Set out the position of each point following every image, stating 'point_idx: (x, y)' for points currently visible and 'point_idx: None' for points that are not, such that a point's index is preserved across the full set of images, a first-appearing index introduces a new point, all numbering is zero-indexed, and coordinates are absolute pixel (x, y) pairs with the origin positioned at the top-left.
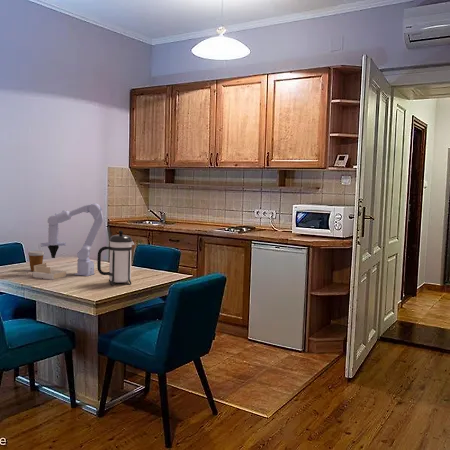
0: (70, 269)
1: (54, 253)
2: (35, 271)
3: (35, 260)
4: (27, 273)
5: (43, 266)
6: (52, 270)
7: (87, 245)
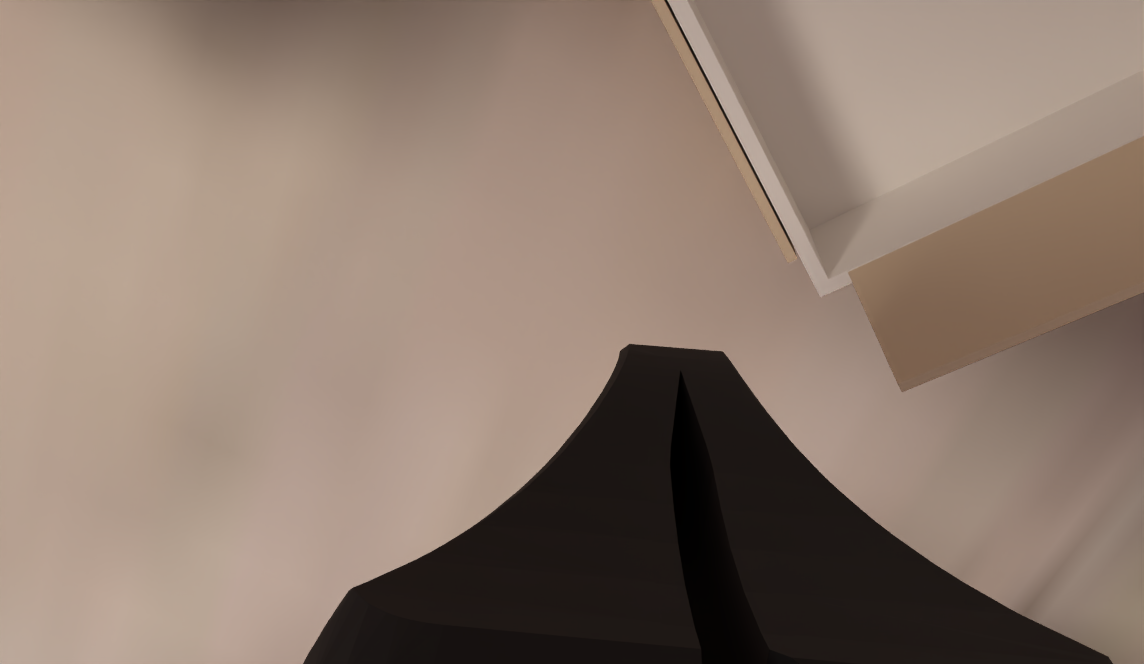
0: (112, 494)
1: (666, 439)
2: None
3: None
4: (1109, 518)
5: (1016, 259)
6: (737, 98)
7: None
